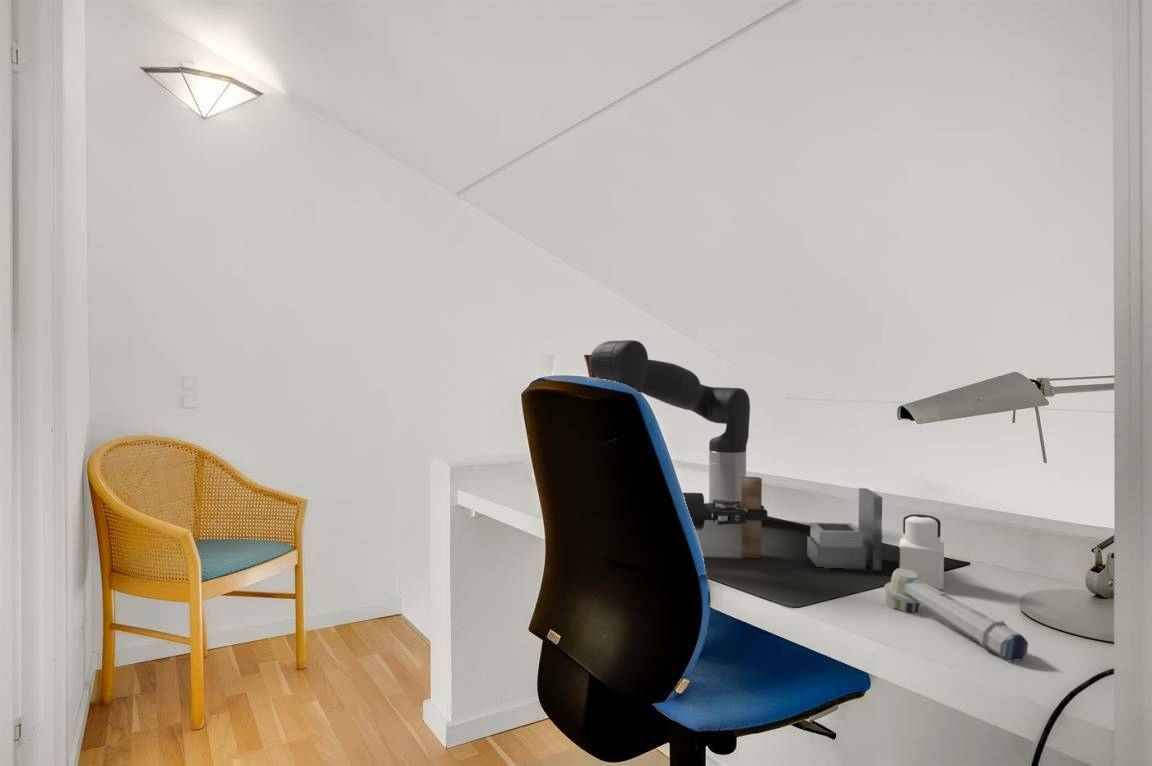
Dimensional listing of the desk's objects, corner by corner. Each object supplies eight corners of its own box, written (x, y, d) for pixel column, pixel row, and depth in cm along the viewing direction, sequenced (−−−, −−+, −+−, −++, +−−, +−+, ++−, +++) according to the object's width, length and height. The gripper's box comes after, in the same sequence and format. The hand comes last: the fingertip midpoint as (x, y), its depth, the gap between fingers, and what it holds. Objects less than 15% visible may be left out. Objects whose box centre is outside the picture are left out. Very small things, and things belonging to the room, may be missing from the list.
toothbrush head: (1001, 635, 95) (880, 560, 119) (995, 682, 97) (876, 598, 120) (1034, 632, 97) (907, 558, 121) (1027, 678, 98) (903, 596, 122)
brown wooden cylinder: (739, 553, 151) (740, 476, 151) (759, 554, 151) (760, 476, 150) (742, 558, 147) (742, 479, 147) (762, 559, 147) (763, 480, 146)
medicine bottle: (900, 574, 136) (900, 510, 136) (942, 579, 133) (943, 514, 132) (898, 585, 129) (899, 518, 129) (943, 590, 126) (944, 521, 126)
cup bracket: (806, 555, 150) (807, 487, 149) (866, 556, 148) (866, 488, 148) (817, 568, 140) (818, 496, 139) (881, 570, 139) (882, 497, 138)
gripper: (681, 499, 143) (771, 500, 141) (679, 487, 157) (760, 488, 155) (681, 537, 143) (771, 539, 141) (678, 521, 157) (760, 523, 156)
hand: (764, 512), depth 148 cm, fingers closed on brown wooden cylinder, 4 cm apart
